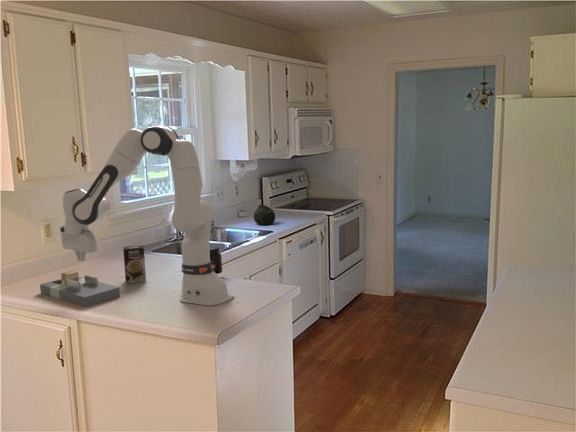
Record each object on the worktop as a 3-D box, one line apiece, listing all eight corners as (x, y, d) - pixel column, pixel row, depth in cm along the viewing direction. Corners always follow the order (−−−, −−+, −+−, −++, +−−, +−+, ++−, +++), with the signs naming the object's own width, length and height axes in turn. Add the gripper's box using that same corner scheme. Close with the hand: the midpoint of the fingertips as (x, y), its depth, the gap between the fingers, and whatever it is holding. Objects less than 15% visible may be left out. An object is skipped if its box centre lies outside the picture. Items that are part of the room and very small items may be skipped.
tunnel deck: (120, 296, 225) (118, 278, 223) (85, 307, 212) (84, 288, 211) (74, 284, 245) (73, 268, 244) (40, 293, 232) (39, 276, 231)
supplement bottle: (212, 270, 262) (211, 246, 260) (225, 271, 259) (223, 246, 257) (205, 273, 255) (204, 249, 254) (218, 274, 253) (216, 250, 251)
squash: (280, 217, 376) (272, 200, 382) (261, 220, 368) (253, 203, 374) (273, 228, 386) (265, 211, 393) (255, 231, 379) (247, 214, 385)
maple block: (79, 282, 232) (78, 271, 231) (68, 285, 228) (67, 274, 227) (72, 281, 235) (71, 270, 234) (62, 284, 231) (60, 272, 230)
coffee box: (125, 284, 242) (122, 249, 240) (125, 280, 248) (123, 246, 246) (146, 282, 245) (143, 247, 242) (146, 278, 251) (143, 244, 248)
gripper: (98, 228, 218) (102, 261, 220) (70, 225, 230) (74, 256, 233) (84, 231, 213) (88, 265, 215) (57, 228, 225) (61, 260, 228)
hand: (81, 260), depth 224 cm, fingers closed
